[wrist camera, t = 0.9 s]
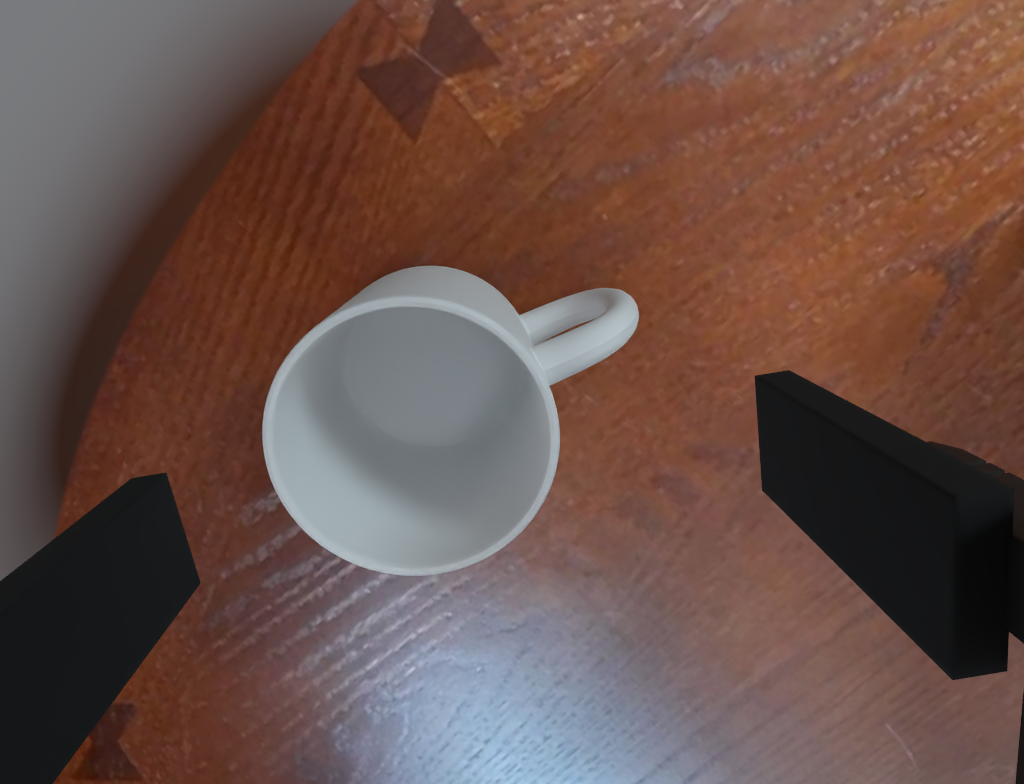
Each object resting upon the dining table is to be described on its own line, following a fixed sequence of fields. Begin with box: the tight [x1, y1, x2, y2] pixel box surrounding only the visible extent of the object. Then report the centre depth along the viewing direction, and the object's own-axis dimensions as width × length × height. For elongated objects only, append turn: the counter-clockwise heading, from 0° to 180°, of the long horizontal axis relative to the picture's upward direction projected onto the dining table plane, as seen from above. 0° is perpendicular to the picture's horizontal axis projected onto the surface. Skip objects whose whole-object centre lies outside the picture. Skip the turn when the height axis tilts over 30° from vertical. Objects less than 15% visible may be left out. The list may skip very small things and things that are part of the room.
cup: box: [262, 266, 639, 576], centre depth 24 cm, size 8×12×10 cm
